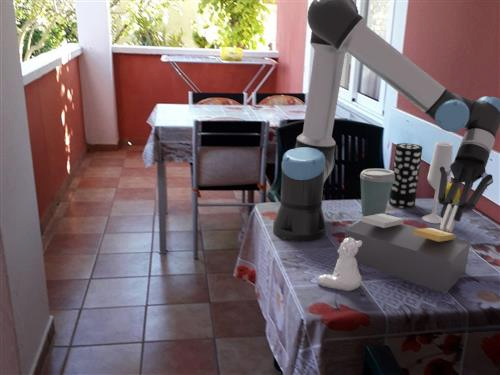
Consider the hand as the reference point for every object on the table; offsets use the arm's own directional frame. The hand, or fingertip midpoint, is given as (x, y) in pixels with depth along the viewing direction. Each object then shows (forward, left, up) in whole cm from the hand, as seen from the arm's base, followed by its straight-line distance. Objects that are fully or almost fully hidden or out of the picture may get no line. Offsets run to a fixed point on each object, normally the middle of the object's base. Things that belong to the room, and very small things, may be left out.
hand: (445, 230), depth 121 cm
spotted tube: (+10, +44, -10) cm, 46 cm away
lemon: (+26, +42, -10) cm, 51 cm away
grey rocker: (-14, +6, 0) cm, 15 cm away
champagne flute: (+14, +30, -10) cm, 35 cm away
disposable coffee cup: (-4, +34, -10) cm, 36 cm away
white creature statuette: (-27, -7, -10) cm, 30 cm away
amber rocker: (-5, -3, 0) cm, 6 cm away
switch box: (-9, +1, -10) cm, 13 cm away
